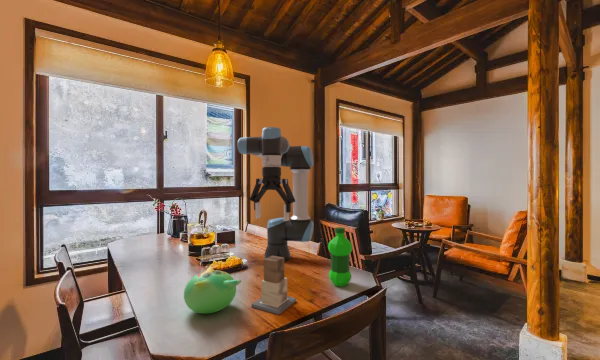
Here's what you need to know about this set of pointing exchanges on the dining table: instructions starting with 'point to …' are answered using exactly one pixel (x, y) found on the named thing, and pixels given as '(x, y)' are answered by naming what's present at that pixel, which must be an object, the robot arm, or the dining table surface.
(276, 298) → the maple block
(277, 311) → the slate pad
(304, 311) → the dining table surface
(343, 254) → the plastic bottle
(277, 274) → the walnut block
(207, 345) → the dining table surface
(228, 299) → the round green bird figurine
